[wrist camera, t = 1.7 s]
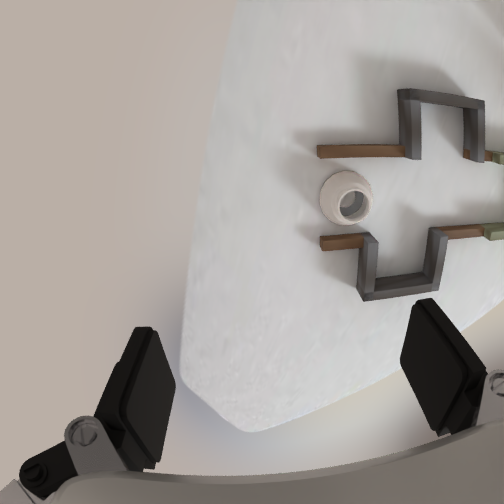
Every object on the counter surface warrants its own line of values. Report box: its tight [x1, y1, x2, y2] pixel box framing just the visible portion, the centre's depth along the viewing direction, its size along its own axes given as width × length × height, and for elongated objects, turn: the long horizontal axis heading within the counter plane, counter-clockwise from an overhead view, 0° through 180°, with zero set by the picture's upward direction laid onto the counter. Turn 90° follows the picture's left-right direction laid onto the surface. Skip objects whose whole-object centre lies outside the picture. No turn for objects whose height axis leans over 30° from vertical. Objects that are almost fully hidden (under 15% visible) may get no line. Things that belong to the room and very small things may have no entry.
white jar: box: [319, 171, 373, 225], centre depth 26 cm, size 5×3×5 cm
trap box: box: [317, 88, 504, 302], centre depth 26 cm, size 20×28×2 cm
